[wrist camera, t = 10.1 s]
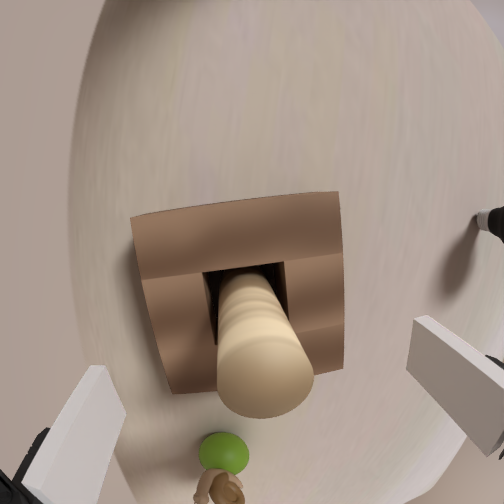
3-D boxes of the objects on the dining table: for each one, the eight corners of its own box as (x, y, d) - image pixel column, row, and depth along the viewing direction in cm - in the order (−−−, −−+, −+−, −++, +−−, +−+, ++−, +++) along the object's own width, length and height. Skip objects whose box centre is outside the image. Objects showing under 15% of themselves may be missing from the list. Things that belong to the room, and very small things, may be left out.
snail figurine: (216, 411, 27) (217, 503, 15) (256, 437, 28) (271, 521, 17) (183, 432, 27) (174, 517, 16) (223, 456, 29) (227, 535, 17)
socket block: (148, 213, 23) (130, 218, 18) (315, 191, 24) (338, 191, 19) (179, 362, 25) (172, 394, 21) (324, 341, 26) (343, 368, 22)
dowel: (216, 264, 24) (208, 351, 10) (264, 258, 24) (312, 335, 11) (223, 309, 25) (225, 423, 11) (268, 302, 25) (314, 409, 11)
